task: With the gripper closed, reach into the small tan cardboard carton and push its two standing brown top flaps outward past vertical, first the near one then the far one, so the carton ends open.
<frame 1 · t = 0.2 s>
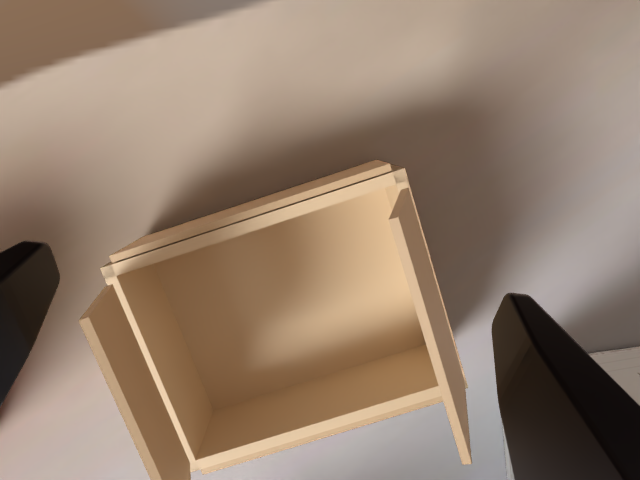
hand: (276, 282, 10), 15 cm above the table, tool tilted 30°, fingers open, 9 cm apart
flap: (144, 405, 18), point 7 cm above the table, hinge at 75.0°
carton: (293, 296, 25), on the table
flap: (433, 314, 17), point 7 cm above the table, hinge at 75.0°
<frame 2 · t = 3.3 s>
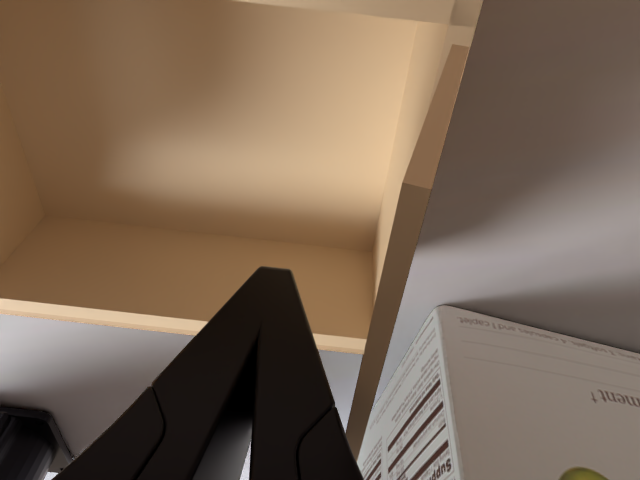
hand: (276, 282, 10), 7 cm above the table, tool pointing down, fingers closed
supplement box: (543, 417, 25), on the table
carton: (202, 113, 15), on the table
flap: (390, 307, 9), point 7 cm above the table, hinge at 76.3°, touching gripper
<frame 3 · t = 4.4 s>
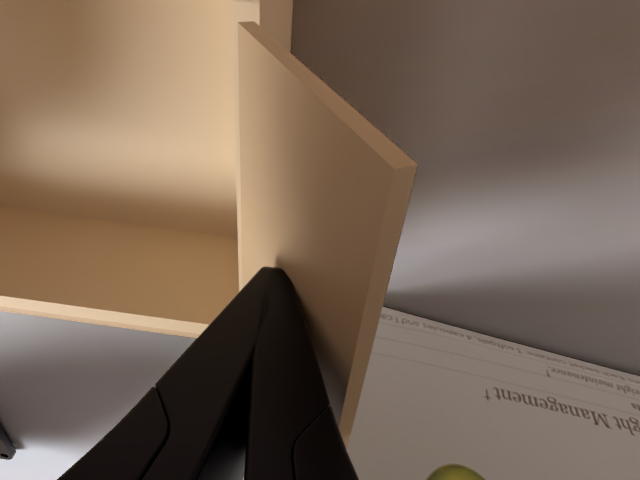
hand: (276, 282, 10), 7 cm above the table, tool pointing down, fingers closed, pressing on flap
supplement box: (468, 415, 24), on the table
carton: (80, 97, 15), on the table
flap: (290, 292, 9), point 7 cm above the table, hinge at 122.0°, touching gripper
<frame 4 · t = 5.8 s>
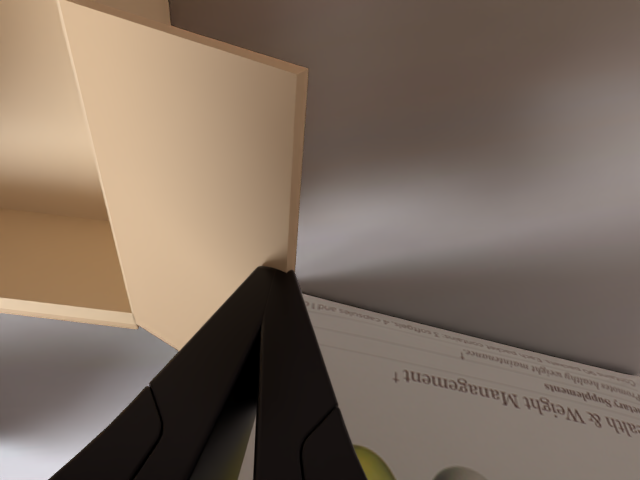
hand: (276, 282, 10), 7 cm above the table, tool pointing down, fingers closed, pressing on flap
supplement box: (403, 402, 24), on the table
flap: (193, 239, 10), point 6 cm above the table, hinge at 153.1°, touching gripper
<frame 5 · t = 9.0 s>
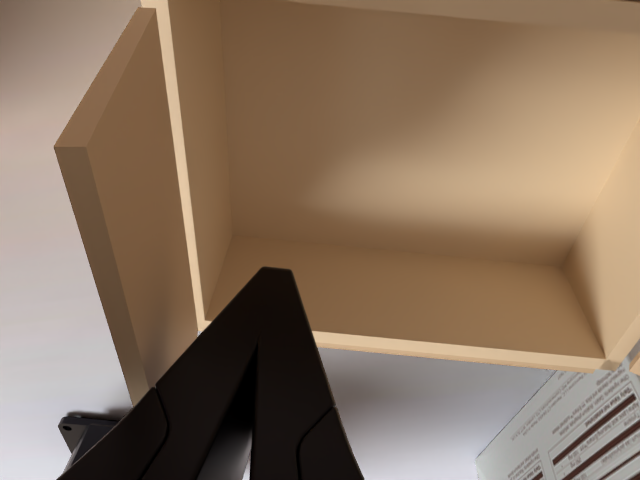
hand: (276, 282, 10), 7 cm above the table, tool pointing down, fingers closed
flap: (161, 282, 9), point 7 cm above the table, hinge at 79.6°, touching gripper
carton: (421, 133, 15), on the table
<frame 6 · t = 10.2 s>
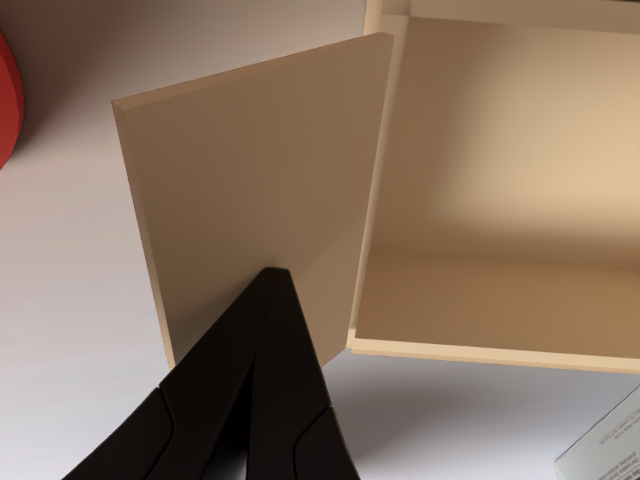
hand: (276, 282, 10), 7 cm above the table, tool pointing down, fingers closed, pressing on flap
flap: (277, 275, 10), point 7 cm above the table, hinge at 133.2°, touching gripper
carton: (560, 145, 15), on the table
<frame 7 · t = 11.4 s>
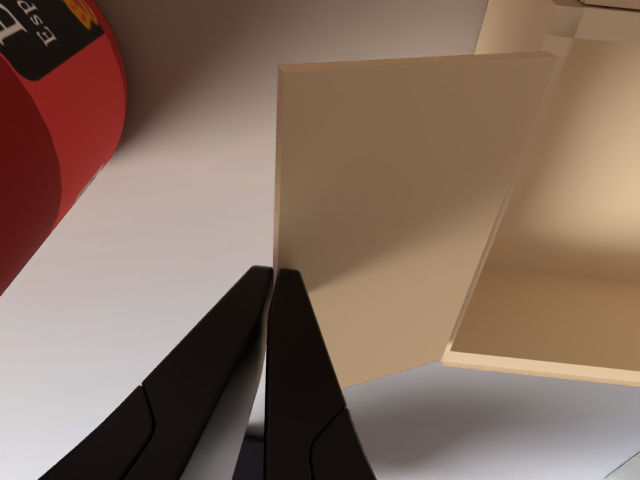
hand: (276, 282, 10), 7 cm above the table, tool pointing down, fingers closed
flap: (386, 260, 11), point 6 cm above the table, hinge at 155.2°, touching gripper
canned food: (12, 61, 15), on the table
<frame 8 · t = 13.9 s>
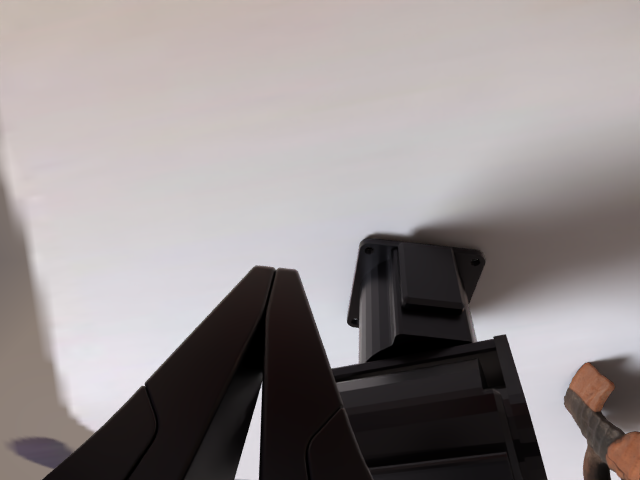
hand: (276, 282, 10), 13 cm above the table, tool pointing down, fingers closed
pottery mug: (631, 392, 32), on the table
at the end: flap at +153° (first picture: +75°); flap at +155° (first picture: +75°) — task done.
